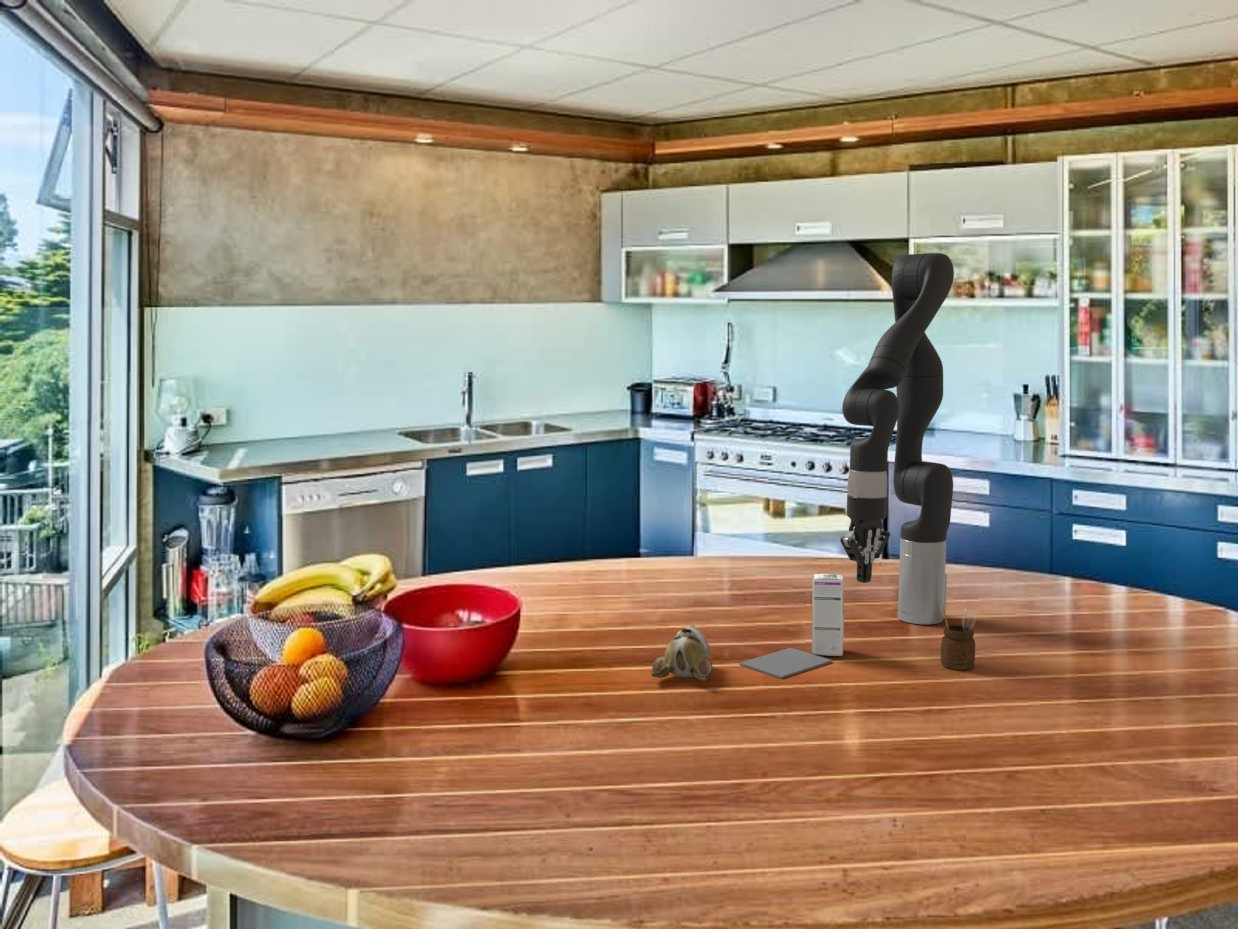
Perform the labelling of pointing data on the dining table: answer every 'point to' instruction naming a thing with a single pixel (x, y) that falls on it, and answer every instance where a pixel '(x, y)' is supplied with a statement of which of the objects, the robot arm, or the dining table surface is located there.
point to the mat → (785, 663)
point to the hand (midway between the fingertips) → (863, 581)
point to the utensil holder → (958, 645)
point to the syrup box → (827, 614)
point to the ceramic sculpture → (685, 656)
